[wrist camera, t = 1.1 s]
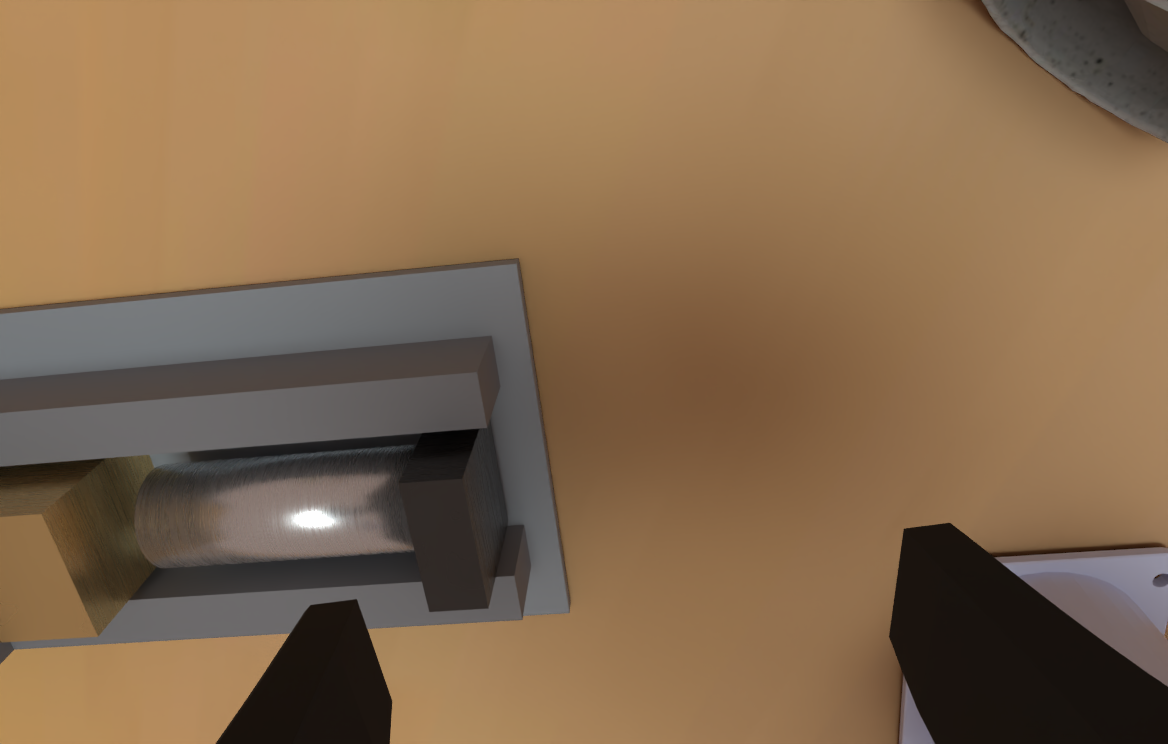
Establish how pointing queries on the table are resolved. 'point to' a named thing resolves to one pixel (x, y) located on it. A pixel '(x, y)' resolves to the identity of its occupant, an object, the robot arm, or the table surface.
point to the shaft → (339, 511)
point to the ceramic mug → (1099, 51)
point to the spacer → (68, 546)
